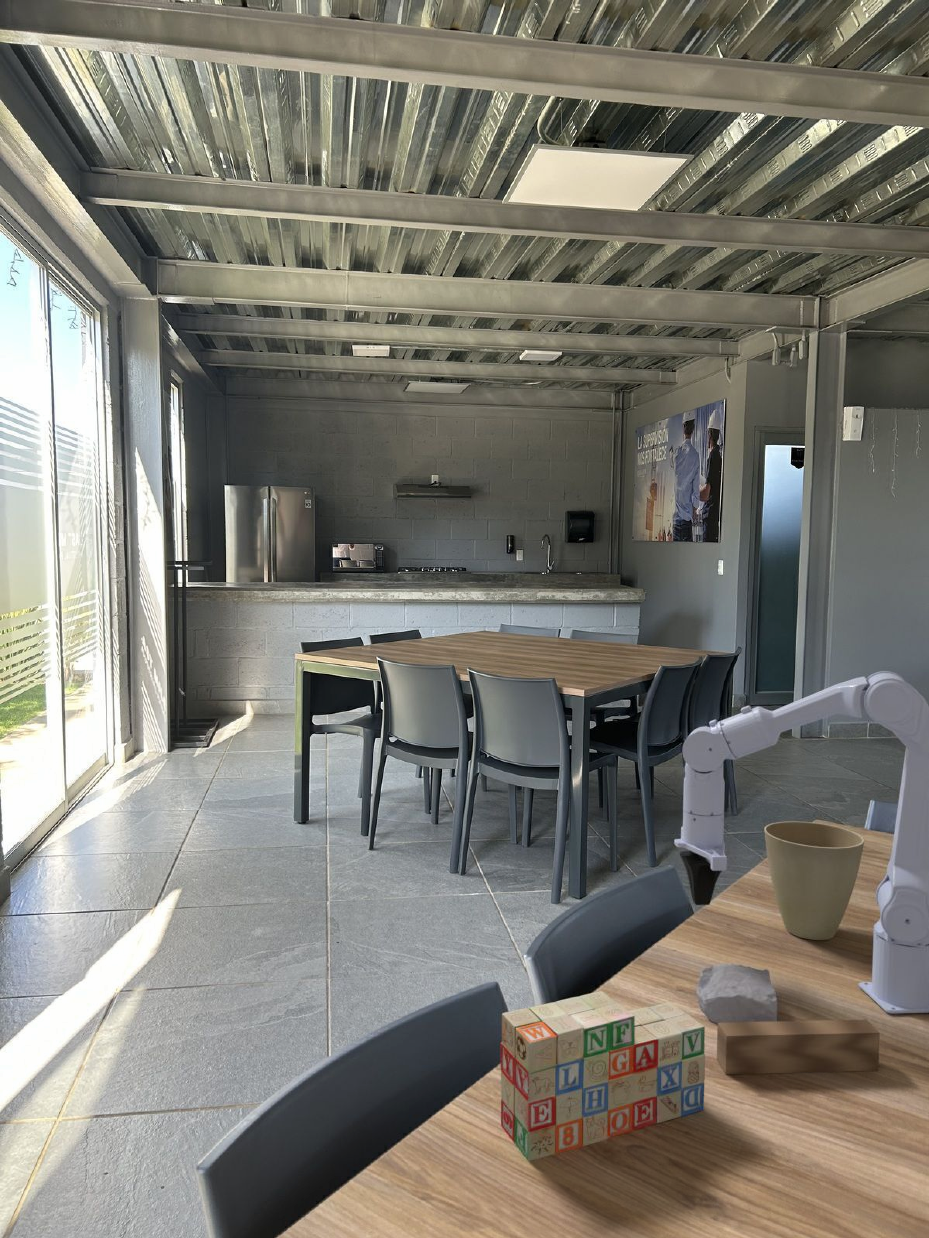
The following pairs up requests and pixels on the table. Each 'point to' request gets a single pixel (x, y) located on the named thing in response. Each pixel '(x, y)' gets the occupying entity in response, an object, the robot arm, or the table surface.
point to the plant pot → (812, 874)
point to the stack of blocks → (596, 1071)
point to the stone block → (736, 994)
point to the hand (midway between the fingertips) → (701, 903)
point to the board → (797, 1046)
